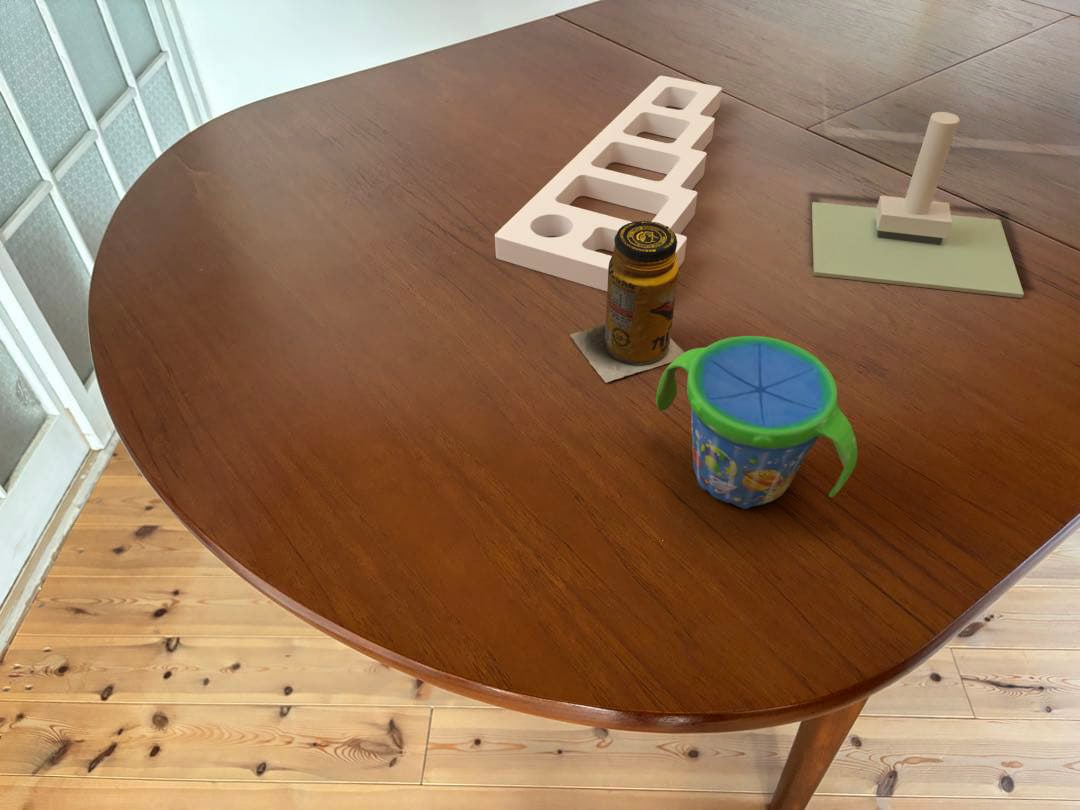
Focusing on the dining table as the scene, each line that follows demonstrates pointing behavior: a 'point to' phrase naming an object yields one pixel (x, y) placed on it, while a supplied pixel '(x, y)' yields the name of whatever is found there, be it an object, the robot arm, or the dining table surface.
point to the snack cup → (757, 416)
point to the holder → (618, 185)
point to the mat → (913, 253)
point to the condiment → (636, 304)
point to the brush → (921, 191)
